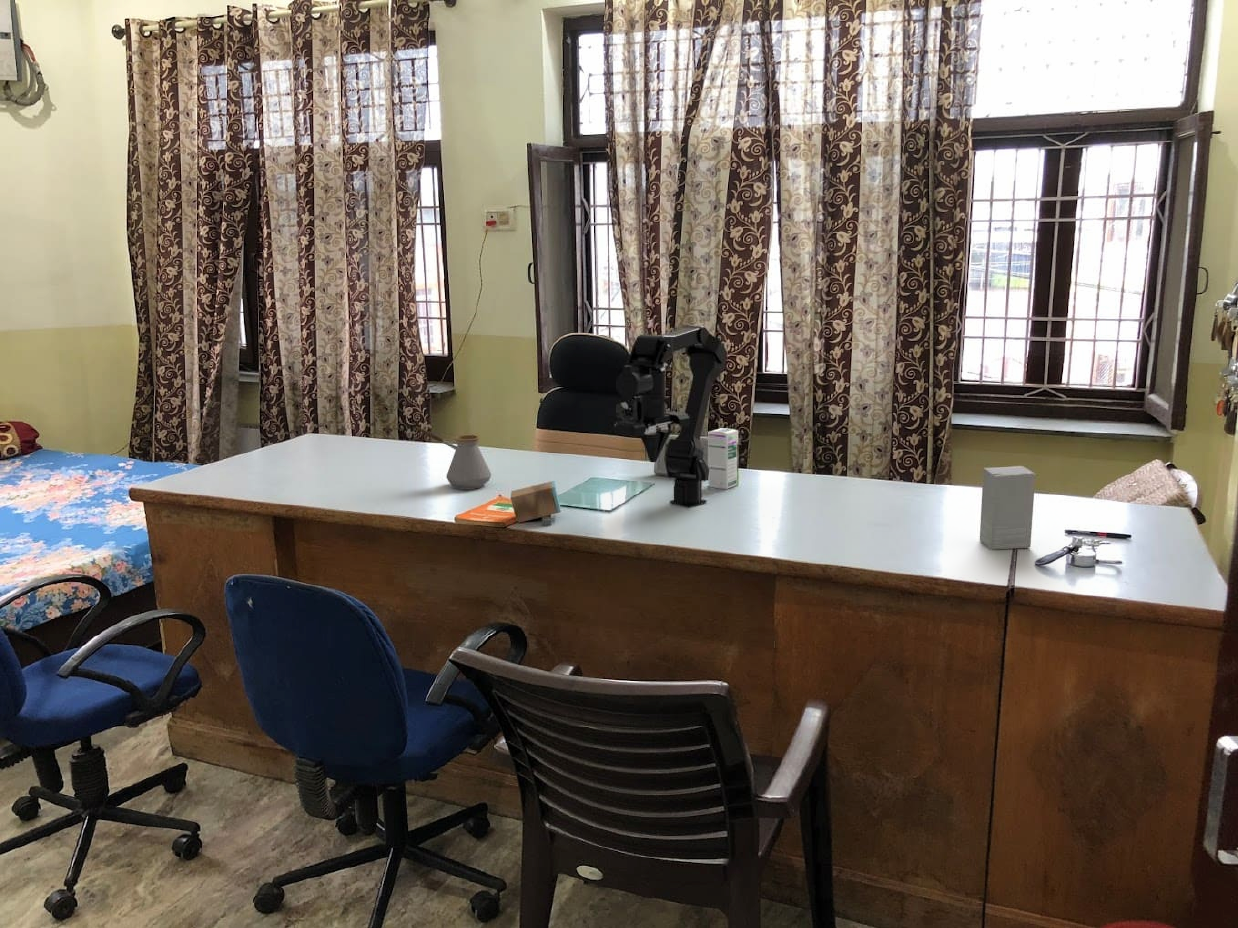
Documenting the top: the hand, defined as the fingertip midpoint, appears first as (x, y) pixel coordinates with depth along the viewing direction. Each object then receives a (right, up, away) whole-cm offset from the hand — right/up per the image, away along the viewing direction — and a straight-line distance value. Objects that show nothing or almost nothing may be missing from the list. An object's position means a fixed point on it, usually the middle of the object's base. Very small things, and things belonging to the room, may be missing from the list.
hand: (653, 461), depth 218 cm
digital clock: (+10, -4, +44) cm, 45 cm away
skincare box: (+70, -17, -21) cm, 75 cm away
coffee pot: (-51, -6, +37) cm, 64 cm away
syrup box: (+19, -6, +32) cm, 37 cm away
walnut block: (-22, -8, +3) cm, 23 cm away
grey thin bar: (-24, -13, +4) cm, 27 cm away
